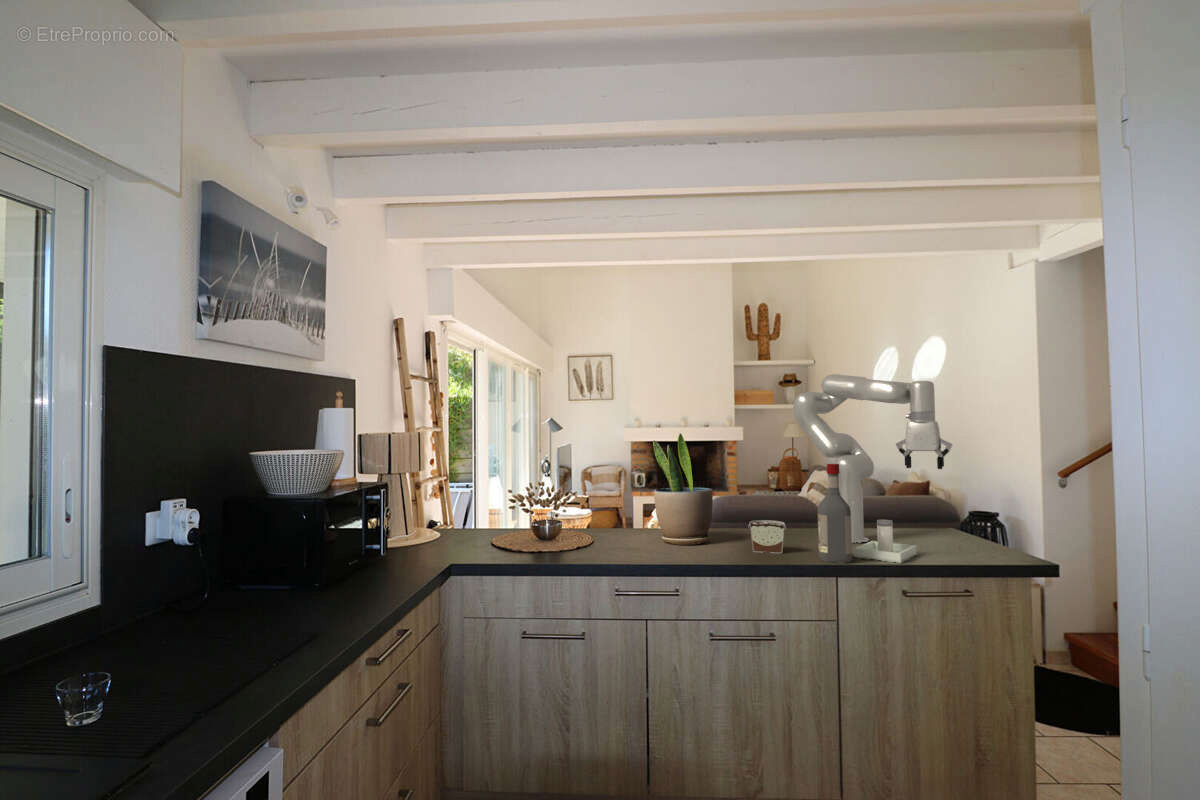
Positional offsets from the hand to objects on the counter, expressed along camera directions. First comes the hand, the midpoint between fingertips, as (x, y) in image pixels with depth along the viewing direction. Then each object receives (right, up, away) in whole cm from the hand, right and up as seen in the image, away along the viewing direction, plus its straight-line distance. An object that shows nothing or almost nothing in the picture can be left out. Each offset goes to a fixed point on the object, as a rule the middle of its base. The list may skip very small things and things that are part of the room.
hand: (924, 468), depth 210 cm
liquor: (-36, -27, -15) cm, 47 cm away
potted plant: (-78, -29, +20) cm, 86 cm away
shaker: (-17, -27, -8) cm, 33 cm away
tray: (-17, -27, -9) cm, 33 cm away
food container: (-52, -28, +1) cm, 59 cm away
